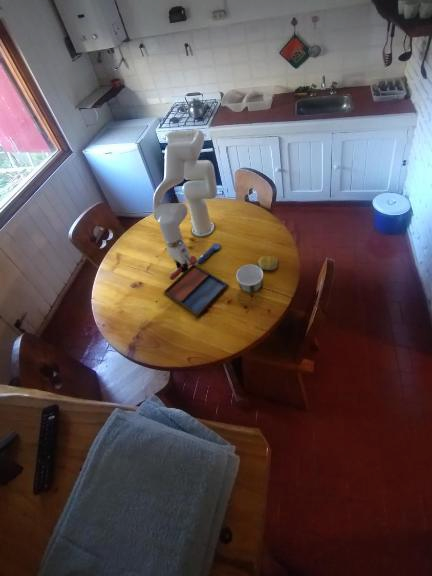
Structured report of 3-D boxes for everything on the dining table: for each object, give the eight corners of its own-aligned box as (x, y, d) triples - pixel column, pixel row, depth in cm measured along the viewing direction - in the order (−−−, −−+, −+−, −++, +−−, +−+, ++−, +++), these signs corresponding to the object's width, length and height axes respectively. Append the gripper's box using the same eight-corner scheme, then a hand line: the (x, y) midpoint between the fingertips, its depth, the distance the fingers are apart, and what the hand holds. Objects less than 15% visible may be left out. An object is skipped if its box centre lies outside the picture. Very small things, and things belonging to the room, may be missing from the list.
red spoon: (174, 283, 151) (172, 279, 150) (167, 278, 154) (166, 275, 152) (198, 260, 160) (197, 256, 158) (192, 256, 162) (191, 252, 161)
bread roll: (259, 257, 170) (259, 251, 167) (278, 259, 167) (277, 253, 165) (257, 270, 164) (256, 264, 161) (276, 272, 161) (275, 266, 158)
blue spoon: (201, 266, 171) (200, 263, 170) (194, 263, 174) (193, 259, 172) (221, 247, 179) (221, 243, 178) (215, 244, 182) (214, 240, 180)
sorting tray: (164, 293, 162) (163, 291, 160) (194, 266, 172) (193, 263, 171) (198, 317, 149) (197, 314, 147) (228, 286, 159) (227, 283, 158)
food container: (268, 289, 154) (267, 279, 150) (243, 298, 153) (241, 288, 149) (258, 270, 163) (257, 261, 159) (234, 278, 162) (232, 269, 158)
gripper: (193, 241, 142) (201, 271, 154) (167, 228, 152) (176, 257, 163) (180, 252, 138) (189, 282, 150) (154, 238, 148) (165, 267, 159)
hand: (183, 269), depth 156 cm, fingers closed on red spoon, 2 cm apart
